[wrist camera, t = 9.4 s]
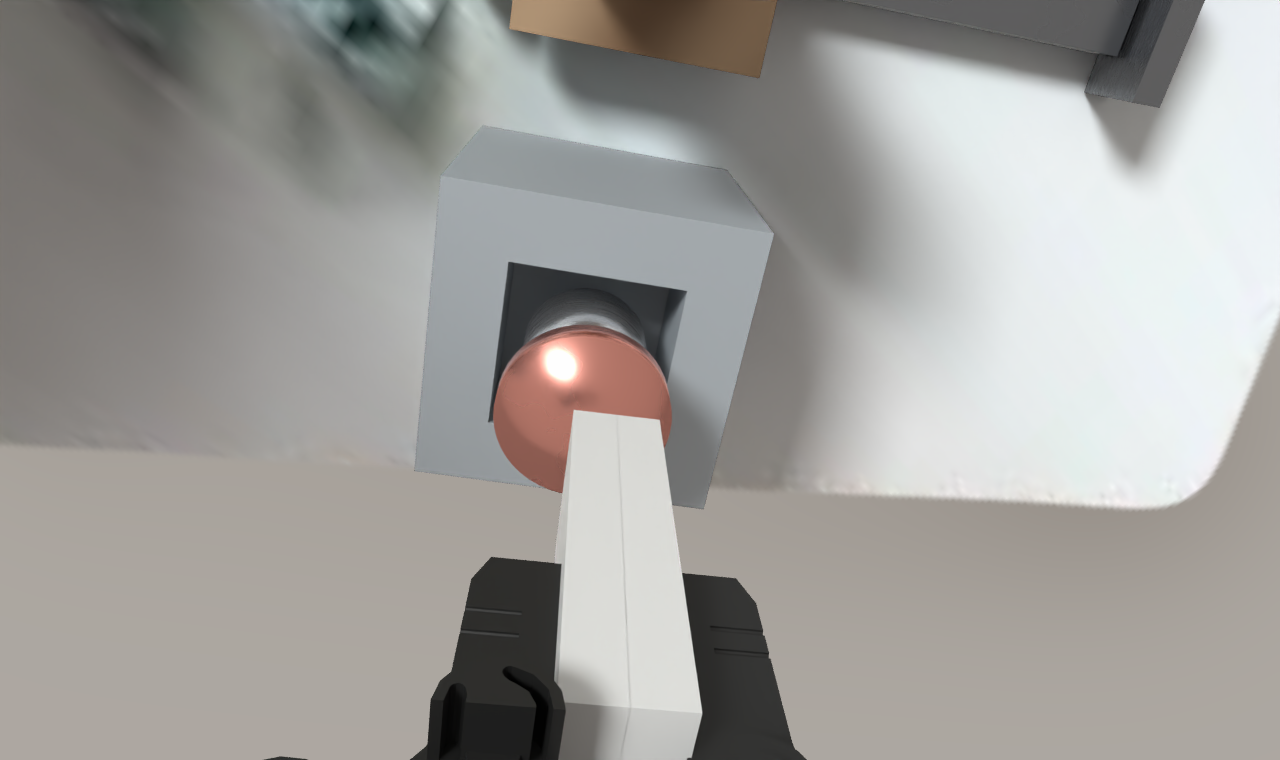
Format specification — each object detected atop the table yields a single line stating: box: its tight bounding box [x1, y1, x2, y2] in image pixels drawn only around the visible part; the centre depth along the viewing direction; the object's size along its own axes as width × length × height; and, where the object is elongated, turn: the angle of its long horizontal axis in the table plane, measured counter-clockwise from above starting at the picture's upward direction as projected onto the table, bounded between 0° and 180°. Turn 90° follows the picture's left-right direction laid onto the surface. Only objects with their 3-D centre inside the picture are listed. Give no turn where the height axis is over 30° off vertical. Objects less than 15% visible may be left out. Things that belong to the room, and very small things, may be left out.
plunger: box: [493, 288, 672, 493], centre depth 23 cm, size 4×4×5 cm
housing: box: [415, 126, 774, 509], centre depth 28 cm, size 9×9×9 cm
